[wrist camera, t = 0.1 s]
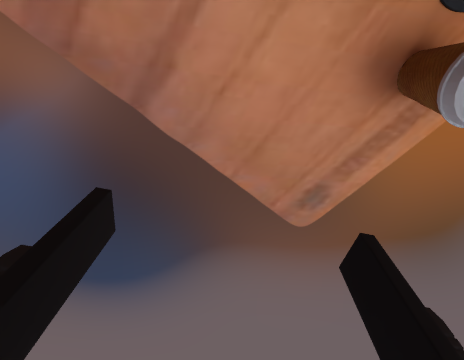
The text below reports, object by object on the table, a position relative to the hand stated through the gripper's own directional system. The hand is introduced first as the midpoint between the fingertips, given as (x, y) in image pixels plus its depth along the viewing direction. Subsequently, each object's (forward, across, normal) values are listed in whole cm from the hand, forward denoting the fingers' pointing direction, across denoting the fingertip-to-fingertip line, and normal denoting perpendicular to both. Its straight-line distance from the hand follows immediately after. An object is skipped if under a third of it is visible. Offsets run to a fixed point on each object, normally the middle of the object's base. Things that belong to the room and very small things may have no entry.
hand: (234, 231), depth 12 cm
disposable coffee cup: (+28, +25, +10) cm, 39 cm away
